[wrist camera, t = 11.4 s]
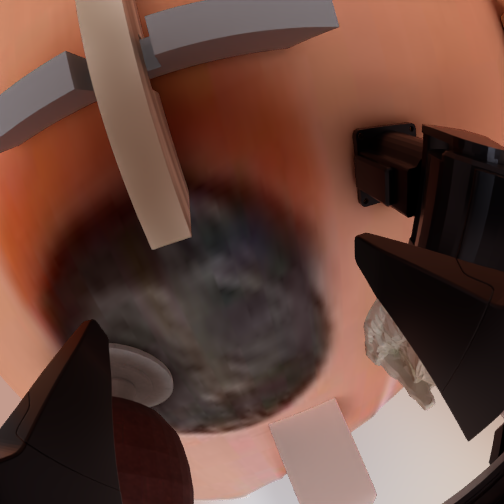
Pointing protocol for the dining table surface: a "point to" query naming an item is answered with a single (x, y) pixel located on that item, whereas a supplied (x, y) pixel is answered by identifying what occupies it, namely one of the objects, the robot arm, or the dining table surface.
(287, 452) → the milk
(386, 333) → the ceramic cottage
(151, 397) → the mate gourd
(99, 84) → the long wooden slat
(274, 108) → the dining table surface
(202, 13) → the grey notched bar
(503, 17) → the rough brown rock
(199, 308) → the dining table surface
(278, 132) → the dining table surface
